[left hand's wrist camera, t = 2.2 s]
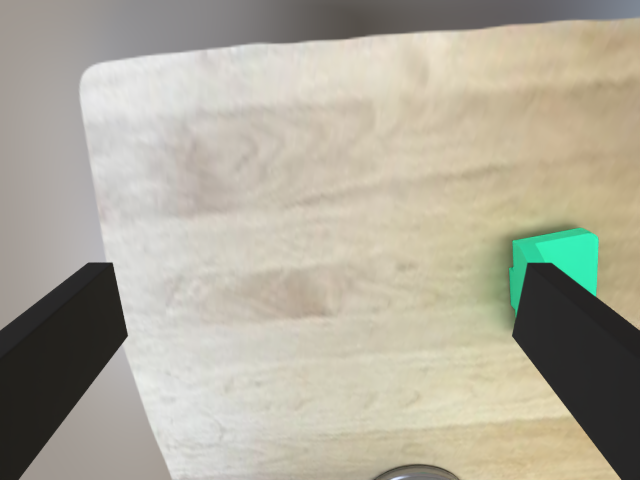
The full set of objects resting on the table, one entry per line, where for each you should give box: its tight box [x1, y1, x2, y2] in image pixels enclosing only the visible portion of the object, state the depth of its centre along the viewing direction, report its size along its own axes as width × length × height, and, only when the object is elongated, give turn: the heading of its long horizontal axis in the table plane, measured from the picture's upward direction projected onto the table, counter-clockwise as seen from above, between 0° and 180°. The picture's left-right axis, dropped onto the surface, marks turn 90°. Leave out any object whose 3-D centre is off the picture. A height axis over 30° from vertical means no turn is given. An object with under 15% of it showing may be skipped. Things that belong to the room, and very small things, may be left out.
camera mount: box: [509, 228, 599, 316], centre depth 39 cm, size 12×8×10 cm, turn 12°
